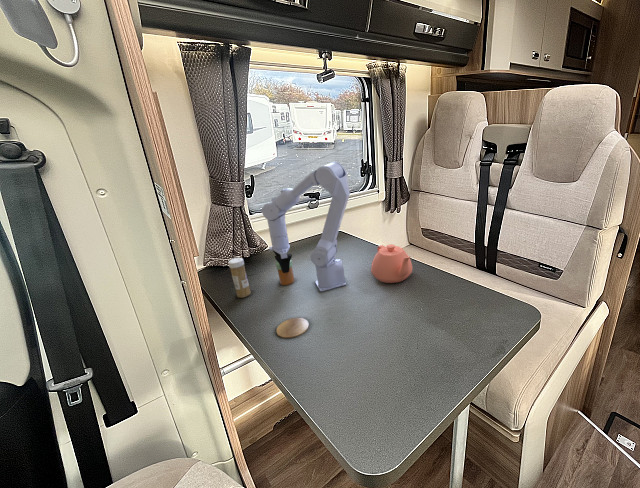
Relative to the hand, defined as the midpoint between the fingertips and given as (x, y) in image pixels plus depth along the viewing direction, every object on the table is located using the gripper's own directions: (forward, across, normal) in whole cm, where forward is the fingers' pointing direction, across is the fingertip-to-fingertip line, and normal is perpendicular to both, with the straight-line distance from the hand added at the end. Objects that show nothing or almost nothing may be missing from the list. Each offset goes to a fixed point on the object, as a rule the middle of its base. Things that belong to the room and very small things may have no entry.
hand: (284, 268), depth 117 cm
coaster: (+5, +30, -3) cm, 31 cm away
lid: (-2, 0, 0) cm, 2 cm away
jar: (+5, 0, 0) cm, 5 cm away
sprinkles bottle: (+6, +2, -15) cm, 16 cm away
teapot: (+5, +16, +37) cm, 40 cm away
